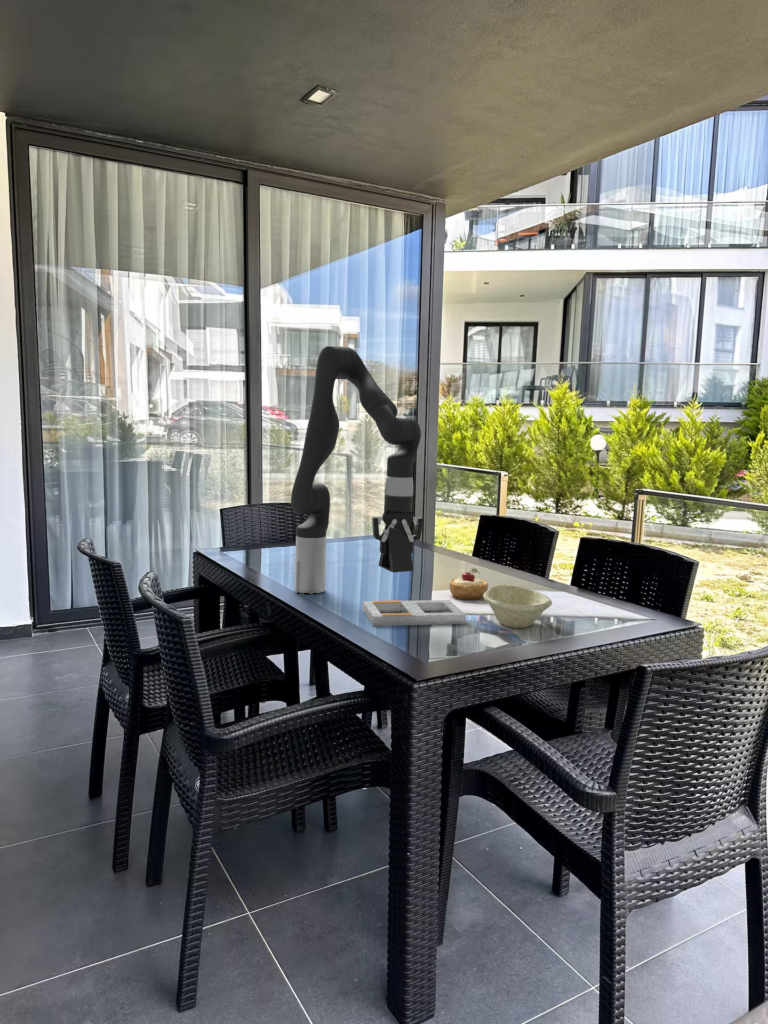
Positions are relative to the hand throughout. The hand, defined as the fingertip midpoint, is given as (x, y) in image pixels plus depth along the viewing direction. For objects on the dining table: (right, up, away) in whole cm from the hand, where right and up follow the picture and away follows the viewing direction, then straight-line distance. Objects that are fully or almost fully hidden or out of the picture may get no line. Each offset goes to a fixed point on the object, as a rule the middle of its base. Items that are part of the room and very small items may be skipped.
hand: (396, 554), depth 198 cm
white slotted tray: (+5, -17, +3) cm, 18 cm away
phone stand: (0, -4, +1) cm, 4 cm away
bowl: (+32, -19, -2) cm, 37 cm away
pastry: (+23, -15, +28) cm, 39 cm away
